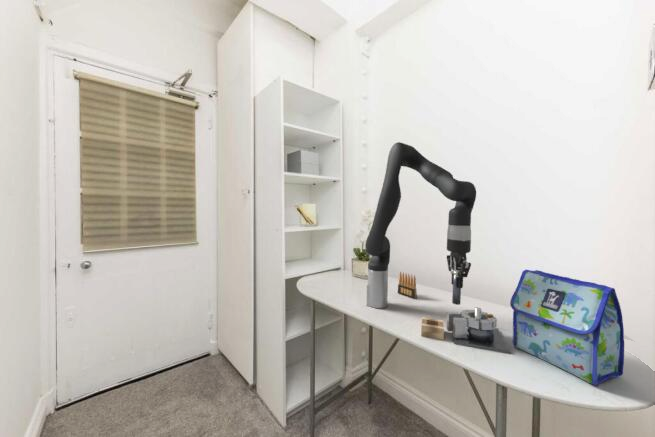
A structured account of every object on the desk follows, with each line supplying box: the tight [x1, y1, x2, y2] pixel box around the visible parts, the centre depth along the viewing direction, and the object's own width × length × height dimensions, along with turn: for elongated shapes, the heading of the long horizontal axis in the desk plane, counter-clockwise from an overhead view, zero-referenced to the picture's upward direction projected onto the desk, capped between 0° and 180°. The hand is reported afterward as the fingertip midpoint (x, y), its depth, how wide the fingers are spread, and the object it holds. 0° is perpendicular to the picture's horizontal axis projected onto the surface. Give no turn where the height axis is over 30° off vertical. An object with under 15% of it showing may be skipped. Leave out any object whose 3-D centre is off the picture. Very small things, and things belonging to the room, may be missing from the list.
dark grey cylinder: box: [451, 270, 462, 305], centre depth 92 cm, size 3×3×12 cm
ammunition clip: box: [397, 271, 418, 300], centre depth 134 cm, size 11×2×12 cm, turn 35°
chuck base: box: [451, 307, 511, 354], centre depth 92 cm, size 16×16×10 cm
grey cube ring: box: [446, 309, 498, 338], centre depth 92 cm, size 11×15×7 cm
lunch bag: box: [509, 269, 625, 387], centre depth 77 cm, size 22×17×26 cm
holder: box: [420, 316, 445, 341], centre depth 95 cm, size 7×7×4 cm
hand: (457, 286), depth 92 cm, fingers closed on dark grey cylinder, 2 cm apart
